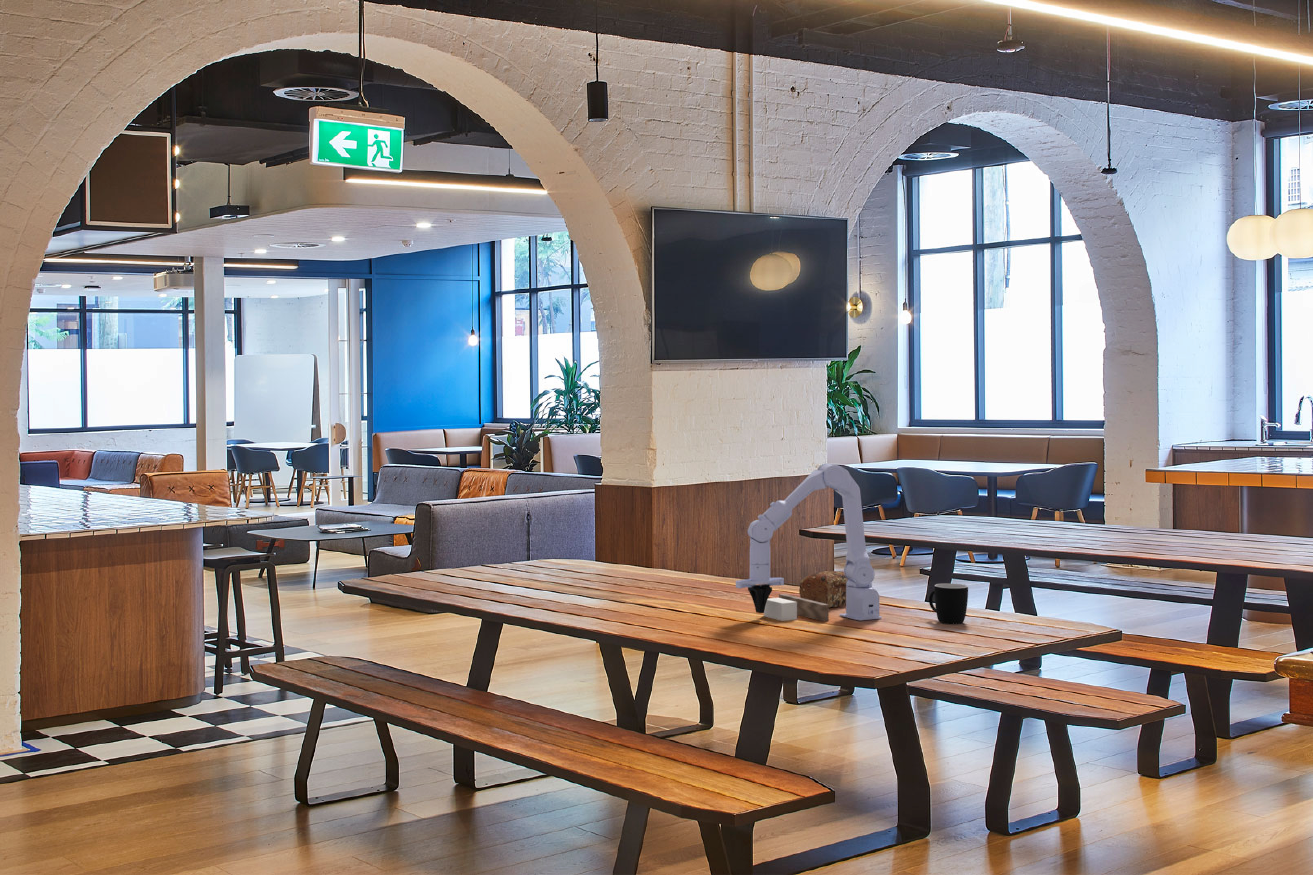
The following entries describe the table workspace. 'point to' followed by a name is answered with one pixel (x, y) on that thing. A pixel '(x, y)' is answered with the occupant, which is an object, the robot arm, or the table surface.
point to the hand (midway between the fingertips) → (759, 612)
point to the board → (809, 608)
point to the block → (781, 609)
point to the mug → (950, 602)
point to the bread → (825, 588)
